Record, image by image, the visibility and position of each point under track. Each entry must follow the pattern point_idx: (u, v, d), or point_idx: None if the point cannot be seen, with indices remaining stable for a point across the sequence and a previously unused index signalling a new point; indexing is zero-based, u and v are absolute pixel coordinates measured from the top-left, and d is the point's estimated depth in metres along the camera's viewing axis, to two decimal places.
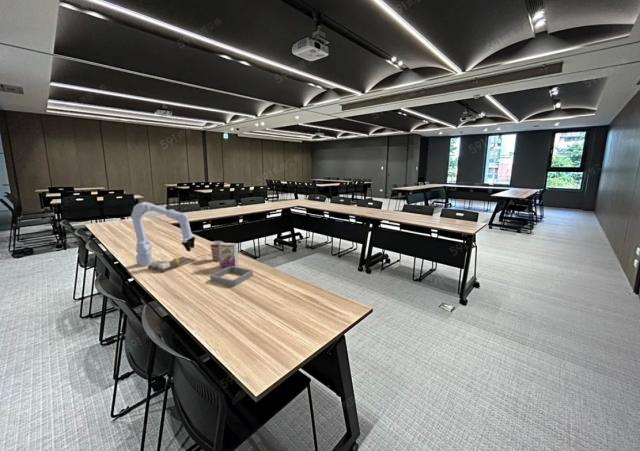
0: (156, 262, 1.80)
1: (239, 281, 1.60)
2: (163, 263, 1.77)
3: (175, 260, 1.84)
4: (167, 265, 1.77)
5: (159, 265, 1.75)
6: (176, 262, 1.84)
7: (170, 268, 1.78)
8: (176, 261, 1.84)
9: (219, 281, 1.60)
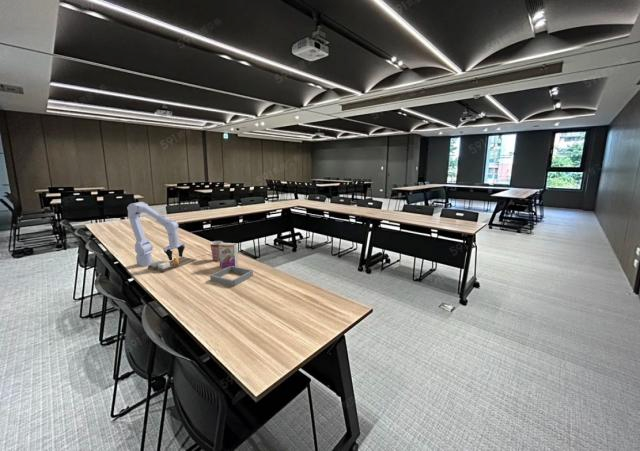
0: (156, 262, 1.80)
1: (239, 281, 1.60)
2: (163, 263, 1.77)
3: (175, 260, 1.84)
4: (167, 265, 1.77)
5: (159, 265, 1.75)
6: (176, 262, 1.84)
7: (170, 268, 1.78)
8: (176, 261, 1.84)
9: (219, 281, 1.60)
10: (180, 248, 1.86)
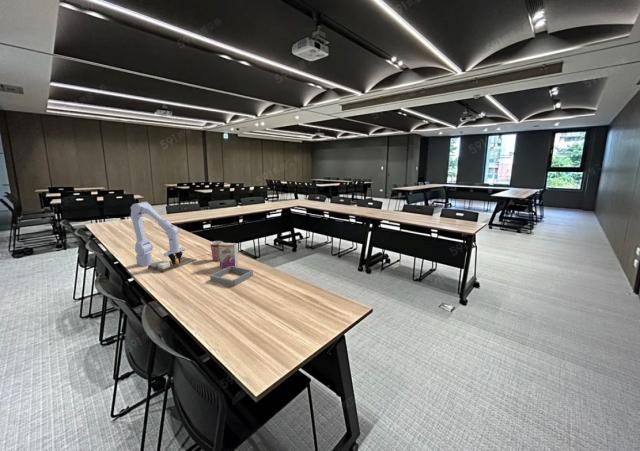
0: (156, 262, 1.80)
1: (239, 281, 1.60)
2: (163, 263, 1.77)
3: (175, 260, 1.84)
4: (167, 265, 1.77)
5: (159, 265, 1.75)
6: (176, 262, 1.84)
7: (170, 268, 1.78)
8: (176, 261, 1.84)
9: (219, 281, 1.60)
10: (178, 254, 1.85)
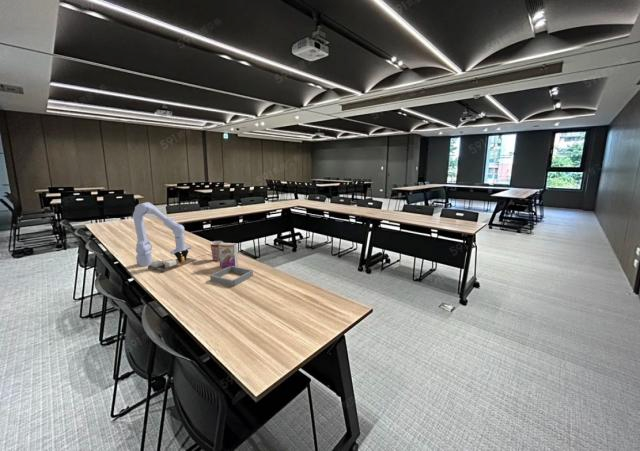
0: (156, 262, 1.80)
1: (239, 281, 1.60)
2: (170, 261, 1.81)
3: (181, 258, 1.88)
4: (173, 263, 1.81)
5: (166, 263, 1.80)
6: (182, 260, 1.88)
7: (170, 268, 1.78)
8: (182, 259, 1.88)
9: (219, 281, 1.60)
10: (184, 252, 1.89)
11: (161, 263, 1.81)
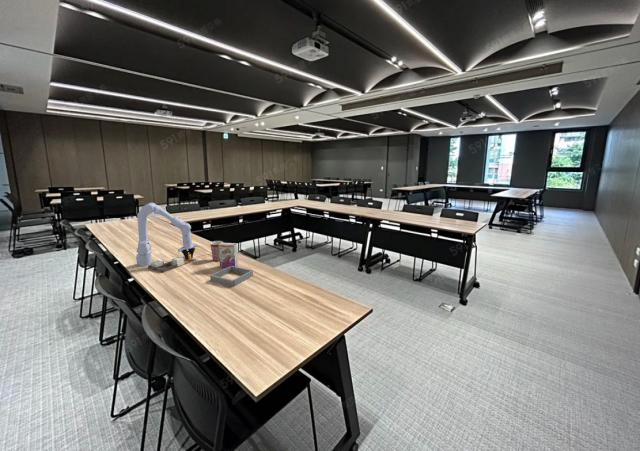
0: (156, 262, 1.80)
1: (239, 281, 1.60)
2: (177, 258, 1.86)
3: (188, 256, 1.93)
4: (181, 260, 1.86)
5: (173, 260, 1.85)
6: (189, 257, 1.93)
7: (170, 268, 1.78)
8: (189, 256, 1.93)
9: (219, 281, 1.60)
10: (191, 250, 1.94)
11: (161, 263, 1.81)
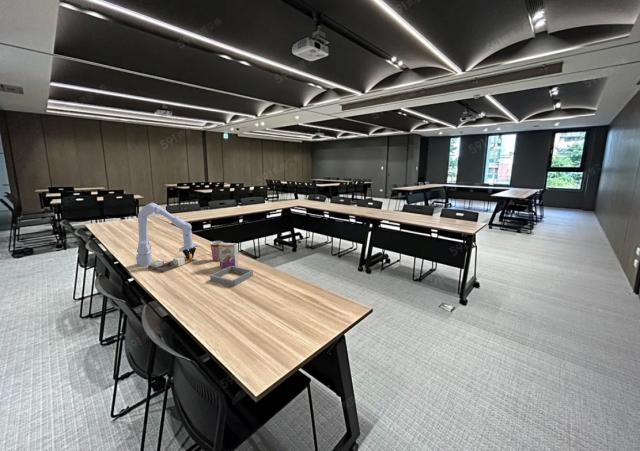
0: (156, 262, 1.80)
1: (239, 281, 1.60)
2: (178, 258, 1.86)
3: (189, 255, 1.94)
4: (182, 260, 1.87)
5: (174, 260, 1.85)
6: (190, 257, 1.94)
7: (170, 268, 1.78)
8: (190, 256, 1.94)
9: (219, 281, 1.60)
10: (191, 249, 1.95)
11: (161, 263, 1.81)
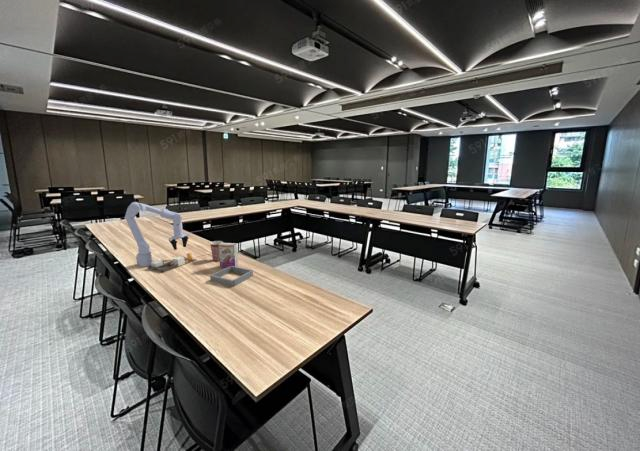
0: (156, 262, 1.80)
1: (239, 281, 1.60)
2: (178, 258, 1.86)
3: (189, 255, 1.94)
4: (182, 260, 1.87)
5: (174, 260, 1.85)
6: (190, 257, 1.94)
7: (170, 268, 1.78)
8: (190, 256, 1.94)
9: (219, 281, 1.60)
10: (184, 238, 1.98)
11: (161, 263, 1.81)
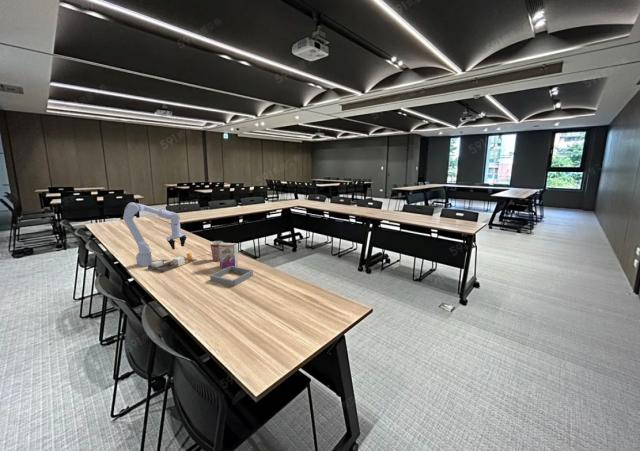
0: (156, 262, 1.80)
1: (239, 281, 1.60)
2: (178, 258, 1.86)
3: (189, 255, 1.94)
4: (182, 260, 1.87)
5: (174, 260, 1.85)
6: (190, 257, 1.94)
7: (170, 268, 1.78)
8: (190, 256, 1.94)
9: (219, 281, 1.60)
10: (182, 238, 1.99)
11: (161, 263, 1.81)
